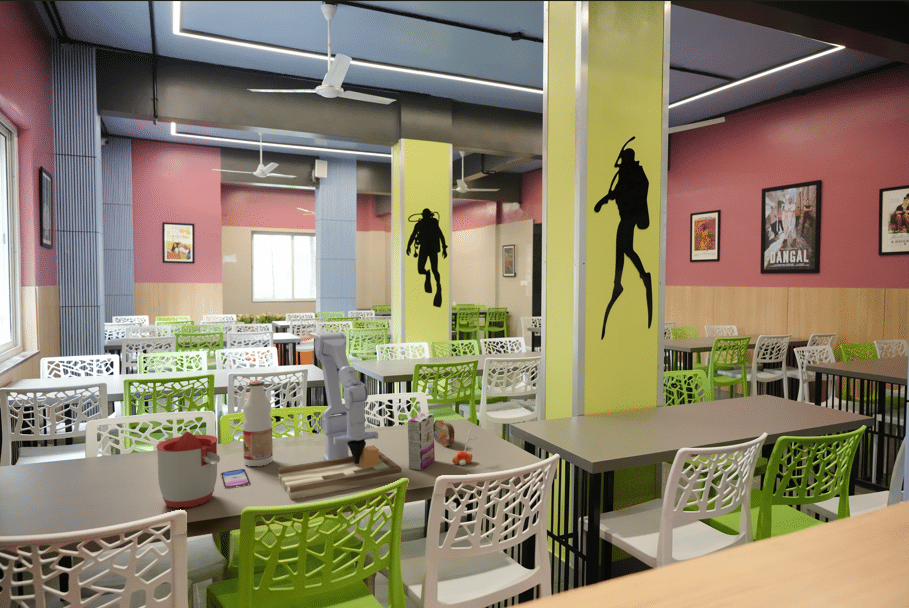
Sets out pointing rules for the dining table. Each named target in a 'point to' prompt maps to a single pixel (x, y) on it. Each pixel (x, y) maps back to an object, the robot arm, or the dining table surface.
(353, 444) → the robot arm
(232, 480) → the smartphone
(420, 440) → the candy bar box
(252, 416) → the fruit juice
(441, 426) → the tin
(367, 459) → the block
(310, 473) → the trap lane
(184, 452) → the citrus juicer
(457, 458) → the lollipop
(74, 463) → the dining table surface
